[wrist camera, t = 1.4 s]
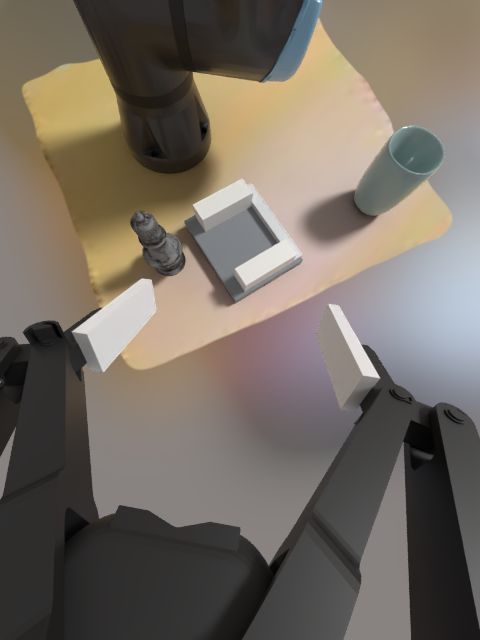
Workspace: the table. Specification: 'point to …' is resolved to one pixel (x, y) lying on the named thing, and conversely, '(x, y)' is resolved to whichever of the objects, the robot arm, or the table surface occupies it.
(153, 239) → the salt shaker
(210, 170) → the table surface
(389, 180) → the cup
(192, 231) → the rail board
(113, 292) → the table surface
